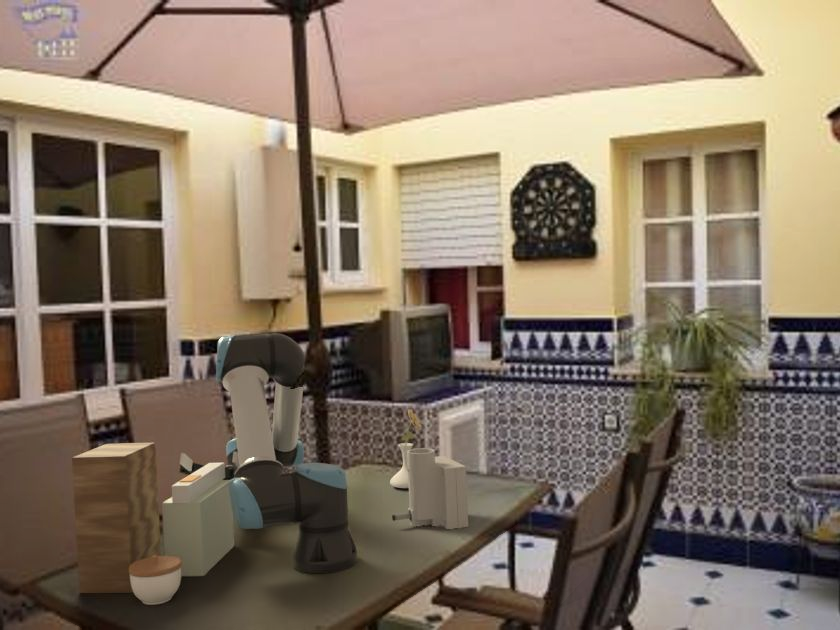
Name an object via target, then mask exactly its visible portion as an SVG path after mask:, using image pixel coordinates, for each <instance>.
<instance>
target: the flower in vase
mask: <svg viewBox="0 0 840 630" xmlns="http://www.w3.org/2000/svg"><path fill="white" fill-rule="evenodd" d="M407 415H408V417H409V419H410V423H409V424H408V427H407V431H406V434H403V435H402V437H401V440H402V441H405V442H402V443H399V444H397V446H398V447H399V450H400V451H401V455H402V467H401V469H400V470H398V471H397V473H395V475H393V476H392V477H391V479H390V482H389V484H390V485H391V486H393V487H395V488H398V489H409V485H408V463H407V451H408V450H412V449H413V446H414V443H409V442H407V441H408V440H409V439H411V440H412V439H414V434H413V433H412V431H409V430H410V427H411V425H413V426H414V428H415V429H416V430H417V431H422V429H421V428H423V426H422V424H421V420H420V419H419V418H418V416H417V413H414V411H413V409H410V408H408V410H407Z"/></svg>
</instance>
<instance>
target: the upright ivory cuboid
mask: <svg viewBox="0 0 840 630" xmlns="http://www.w3.org/2000/svg"><path fill="white" fill-rule="evenodd" d="M229 482H230V480H221V481H220V482H218V483H217V484H216V485H214V486H213V487H211V488H210V489H208V490H207V491H206V492H204V493H203V494H201V495H200V496H198V497H197V498H196V499H194V500H193V501H191V502H190V503H172V496H171V497H170V498H168V499H166V500H164V501H163V502H162V503H161V509H162V512H161V513H162V525H163V526H162V529H163V531H162V532H163V543H164V544H163V546H164V556H176V557H179V558H180V559H181V561H182V565H181V577H204V576H205V575H207V574H208V573H209V571H210V570H211V569H212V568H214V566H216V565H217V563H218V562H219V561H220V560H222V559H223V558H224V556H226V554H228V553H229V552H230V551H231V550H233V548H234V547H235V537H234V536H235V535H234V534H235V533H234V514H233V510H232V506H231V499H230V494H229Z"/></svg>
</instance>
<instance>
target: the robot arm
mask: <svg viewBox="0 0 840 630" xmlns="http://www.w3.org/2000/svg"><path fill="white" fill-rule="evenodd" d="M216 350H217V352H216V353H217V354H216V369H215V370H216V372H215V380H216V381H217V382H220V383H222V386H223V388H224V389H225V390H226V391H227V392H229V395H230V403H231V411H232V416H233V417H232V418H233V424H234V432H235V438H233V439H231V440H229V441H228V442H227V443H226V446H225V447H226V449H225V452H226V454H225V455H226V464H227V465H226V466H225V478H224V479H223V480H230V482H229V494H230V499H231V506H232V511H233V518H234V520H235V523H236V524H237V525H238V526H239V527H240V529H243V530H250V529H257V530H261V529H262V528H269V527H277V526H282V525H291V524H298V536H297V540H296V543H295V547H294V551H293V555H292V566H293V568H294V569H296V570H297V571H298V572H303V573H308V574H327V573H335V572H340V571H343V570H346V569H349V568H351V567H353V566H355V565H356V564H357V563H358V549H357V547H356V544H355V541H354V538H353V536H352V534H351V531H350V526H349V509H348V508H349V506H348V505H349V503H348V488H349V487H348V482H347V474H346V472H345V469H343V467H340V466H338V465H335V464H331V463H330V464H329V463H322V462H305V447H304V444H303V442H302V441H301V440H298V439H299V431H300V422H301V412H302V403H303V402H302V401H303V393H304V392H303V391H304V386H303V387H298V388H295V389H290V388H291V386H292V384H293V382H294V380H295V379H296V377H298V375H299V373H300V372H301V371H302V368H303V365H304V362H305V357H306V358H307V356H306V354H305V352H304V351H303V349H302V347H301V346H300V345H299V344H298V342H296V341H295V340H294V339H293V338H291V337H289V336H287V335H285V334H283V333H277V332H271V333H262V334H261V333H260V334H243V335H241V334H240V335H236V334H233V335H229V336H222V337H220V338H219V339H218V341H217V349H216ZM270 378H272V379H273V381H274V382H275V389H274V391H275V392H274V402H273V403H274V405H273V418H272V427H271V422H270V416H269V415H270V414H269V410H268V403H267V398H266V391H265V386H266V385H267V384H268V382H269V379H270ZM271 428H272V429H271ZM179 464H180V466H179V474H182V475H186V476H188V475H190V474H192V473H194V472H195V471H197V470H198V469H200V468H202V467H203V466H205V464H199V463H195V462H194V460H192V459H191V458H190V457H189V456H188V455H187V454H186V453H185V452H180V458H179ZM293 467H295V471H291V472H285V469H286V468H293Z"/></svg>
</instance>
